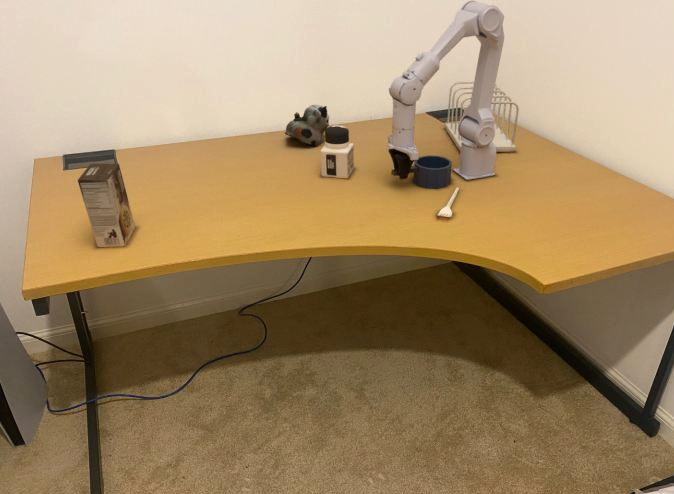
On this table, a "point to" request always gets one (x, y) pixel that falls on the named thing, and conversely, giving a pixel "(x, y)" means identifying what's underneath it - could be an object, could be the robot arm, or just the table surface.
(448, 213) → the fork
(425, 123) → the table surface
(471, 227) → the table surface
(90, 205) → the coffee box
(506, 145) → the file sorter
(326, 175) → the container
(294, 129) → the lucky cat figurine
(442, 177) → the pot
